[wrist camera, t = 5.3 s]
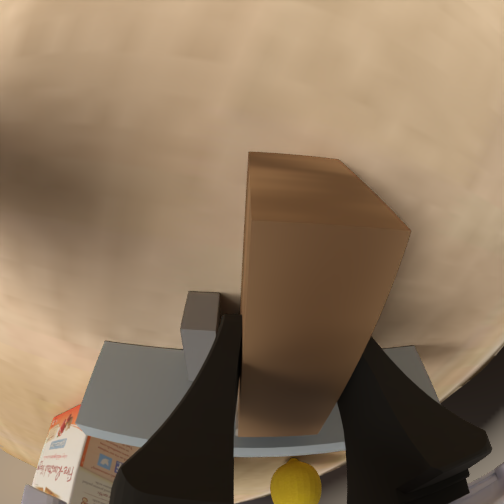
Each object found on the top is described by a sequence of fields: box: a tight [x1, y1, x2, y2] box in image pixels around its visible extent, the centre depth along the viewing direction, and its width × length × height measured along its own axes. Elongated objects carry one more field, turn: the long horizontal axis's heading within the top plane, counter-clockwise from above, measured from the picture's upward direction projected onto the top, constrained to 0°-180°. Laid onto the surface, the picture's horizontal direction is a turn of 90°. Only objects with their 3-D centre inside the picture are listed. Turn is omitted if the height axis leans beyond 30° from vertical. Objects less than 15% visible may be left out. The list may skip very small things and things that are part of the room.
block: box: [235, 152, 411, 437], centre depth 11 cm, size 4×10×6 cm, turn 176°
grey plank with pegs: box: [75, 291, 441, 457], centre depth 13 cm, size 20×6×6 cm, turn 87°
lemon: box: [270, 458, 321, 504], centre depth 24 cm, size 6×6×8 cm
